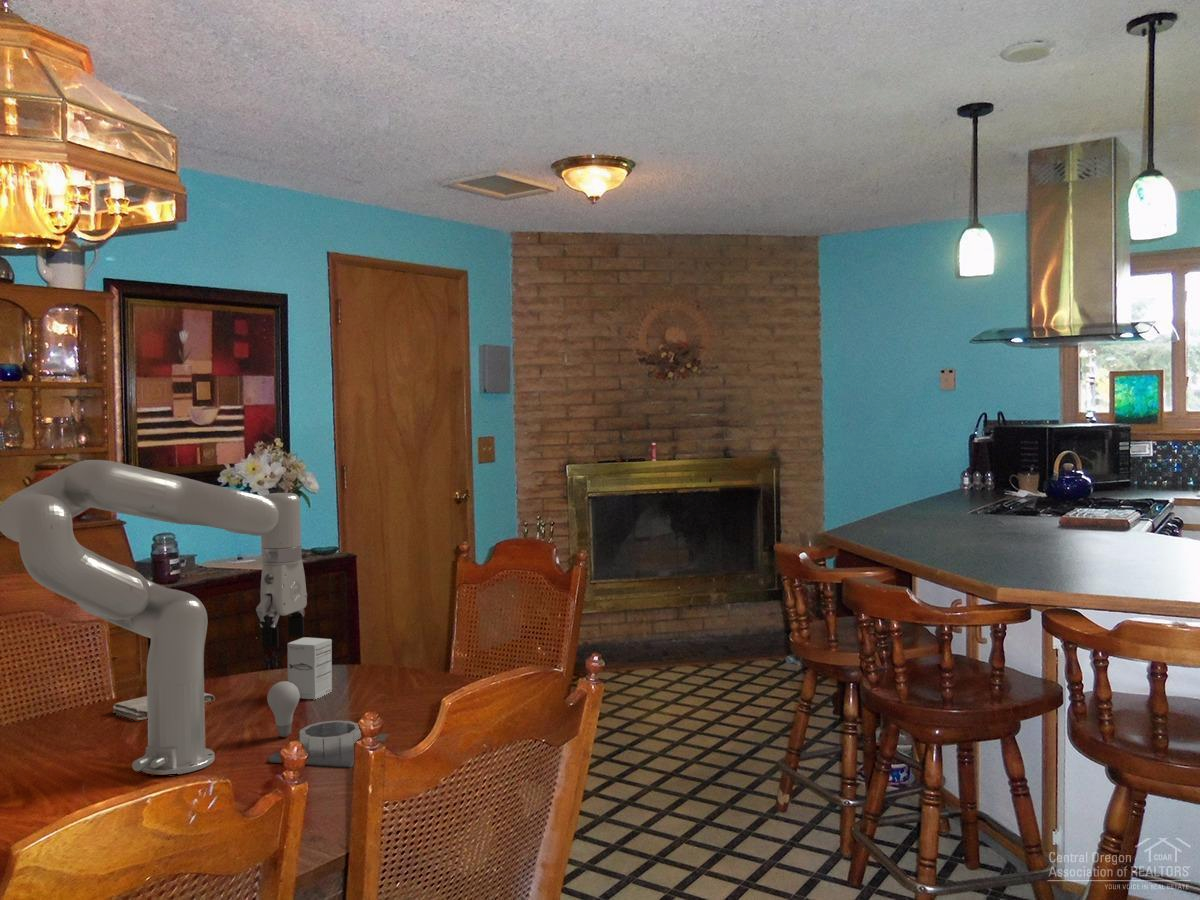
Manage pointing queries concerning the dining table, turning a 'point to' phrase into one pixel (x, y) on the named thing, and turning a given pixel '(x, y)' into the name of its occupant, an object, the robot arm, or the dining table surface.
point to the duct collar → (329, 743)
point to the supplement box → (310, 666)
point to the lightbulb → (283, 705)
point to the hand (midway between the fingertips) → (283, 641)
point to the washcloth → (141, 707)
